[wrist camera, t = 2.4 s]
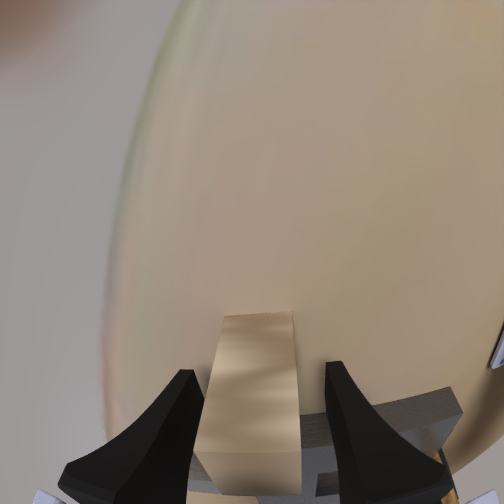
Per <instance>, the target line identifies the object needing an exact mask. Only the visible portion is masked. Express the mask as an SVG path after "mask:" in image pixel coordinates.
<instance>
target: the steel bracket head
mask: <svg viewBox="0 0 504 504" xmlns="http://www.w3.org/2000/svg"><path fill="white" fill-rule="evenodd" d="M372 407H373V408H374V409H375V410H376V412H377V413H378V414H379V415H380V416H381V417H382V418H383V419H384V420H385V421H386V422H387V423H388V424H389V425H390V426H391V427H392V428H393V429H394V430H395V431H396V432H397V433H398V434H399V435H401V436H402V437H403V438H404V439H406V440H407V441H408V442H409V443H411V444H412V445H413V446H414V447H416V448H417V449H419V450H420V451H422V452H423V453H425V454H426V455H428V456H429V457H431V458H434V457H435V456H436V454H437V453H438V451H439V450H440V449H441V447H442V446H443V444H444V443H445V441H446V440H447V438H448V437H449V435H450V434H451V432H452V431H453V429H454V427H455V426H456V424H457V423H458V421H459V419H460V418H461V416H462V414H463V411H462V409H461V407H460V405H459V403H458V401H457V399H456V397H455V395H454V393H453V391H452V389H451V388H450V387H447V388H444V389H440V390H437V391H433V392H430V393H426V394H422V395H419V396H415V397H411V398H407V399H403V400H398V401H394V402H389V403H384V404H379V405H374V406H372ZM299 418H300V436H301V473H302V494H301V495H284V496H256V497H257V500H258V502H259V504H340V497H339V481H338V469H337V460H336V454H335V450H334V445H333V440H332V436H331V431H330V427H329V422H328V417H327V413H322V414H313V415H303V416H299ZM187 489H188V490H189V491H194V492H203V493H214V494H221V492H220V491H219V489H218V488H217V487H216V485H215V484H214V482H213V481H212V479H211V478H210V476H209V475H208V473H207V472H206V470H205V469H204V467H203V466H202V464H201V462H200V461H199V459H198V458H197V456H196V454H193V455H192V459H191V464H190V470H189V477H188V485H187Z"/></svg>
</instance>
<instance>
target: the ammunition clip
mask: <svg viewBox="0 0 504 504" xmlns="http://www.w3.org/2000/svg"><path fill="white" fill-rule="evenodd" d="M433 459H434V460H436V461H438V462H440V463H441V464H443V465H445V466H446V468H447V469H448V471H449V473H450V475H451V472H450V469H449V466H448V464H447V461H446V458H445V456H444V453H443V451H442V448H441V449H440V450H439V451H438V453H437V454H436V456H435V457H434V458H433ZM451 477H452V475H451ZM452 480H453V479H452ZM453 483H454V482H453ZM441 501H442V504H459V502H458V495H457V491H456V488H455V485H454V487H453V489H452V490H451V491H450V492H449V493H448V494H447V495H446V496H445V497H443V498H442V499H441Z"/></svg>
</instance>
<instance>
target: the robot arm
mask: <svg viewBox="0 0 504 504" xmlns="http://www.w3.org/2000/svg"><path fill="white" fill-rule="evenodd" d="M503 365H504V330H503V333H502V336H501V338H500V341H499V343H498V346H497V348H496V351H495V353H494V355H493V358H492V360H491V363H490V366H491V367H492V369H495V368H498V367H500V366H503ZM325 402H326V412H327V417H328V422H329V427H330V431H331V436H332V440H333V445H334V450H335V454H336V460H337V469H338V481H339V497H340V504H442V501H441V499H442V498H443V497H445V496H446V495H447V494H448V493H449V492H450V491H451V490H452V489H453V487H454V483H453V480H452V477H451V475H450V473H449V471H448V469H447V468H446V466H445V465H443V464H441V463H440V462H438V461H436V460H434V459H433V458H431V457H429V456H428V455H426V454H425V453H423V452H422V451H420V450H419V449H417V448H416V447H414V446H413V445H412V444H411V443H409V442H408V441H407V440H406V439H404V438H403V437H402V436H401V435H399V434H398V433H397V432H396V431H395V430H394V429H393V428H392V427H391V426H390V425H389V424H388V423H387V422H386V421H385V420H384V419H383V418H382V417H381V416H380V415H379V414H378V413H377V412H376V410H375V409H374V408H373V407H372V406H371V404H370V403H369V402H368V401H367V399H366V398H365V397H364V395H363V394H362V393H361V391H360V390H359V388H358V387H357V385H356V384H355V382H354V381H353V379H352V378H351V376H350V375H349V373H348V371H347V369H346V368H345V366H344V364H343V362H342V361H334V362H326V373H325ZM203 406H204V397H203V394H202V392H201V389H200V386H199V384H198V381H197V378H196V375H195V373H194V370H185V369H180V370H179V371H178V373H177V374H176V375H175V376H174V378H173V379H172V380H171V381H170V383H169V384H168V385H167V386H166V388H165V389H164V390H163V391H162V392H161V394H160V395H159V396H158V397H157V398H156V399H155V401H154V402H153V403H152V404H151V405H150V406H149V407H148V408H147V409H146V411H145V412H144V413H143V414H142V415H141V416H140V417H139V418H138V419H137V420H136V421H135V422H134V423H132V424H131V425H130V426H129V427H128V428H127V429H126V430H124V431H123V432H122V433H121V434H119V435H118V436H117V437H115V438H114V439H112V440H111V441H110V442H108V443H107V444H105V445H104V446H102V447H100V448H99V449H97V450H95V451H93V452H91V453H90V454H88V455H86V456H84V457H81V458H79V459H77V460H75V461H72V462H70V463H67V465H66V467H65V469H64V471H63V473H62V475H61V477H60V480H59V482H58V487H59V488H60V489H61V490H62V491H63V492H64V493H66V494H67V495H68V496H70V497H71V498H73V499H74V500H75V501H77V502H78V503H80V504H186V496H187V485H188V477H189V470H190V464H191V459H192V455H193V452H194V451H193V449H194V445H195V441H196V436H197V432H198V428H199V423H200V419H201V415H202V410H203ZM32 504H66V503H65V502H63V501H61V500H60V499H58V498H57V497H55V496H53V495H51V494H49V493H47V492H45V491H43V490H41V489H38V491H37V494H36V496H35V498H34V500H33V502H32ZM466 504H499V501H498V498H497V495H496V492H495V489H492V490H490V491H488V492H486V493H484V494H482V495H481V496H479V497H477V498H475V499H473V500H471V501H469V502H467V503H466Z"/></svg>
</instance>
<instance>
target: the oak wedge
mask: <svg viewBox="0 0 504 504" xmlns="http://www.w3.org/2000/svg"><path fill="white" fill-rule="evenodd" d="M193 451H194V453H195V454H196V456H197V458H198V459H199V461H200V462H201V464H202V466H203V467H204V469H205V470H206V472H207V473H208V475H209V476H210V478H211V479H212V481H213V482H214V484H215V485H216V487H217V488H218V489H219V491H220V492H221V494H222V495H234V496H284V495H301V494H302V473H301V436H300V418H299V401H298V386H297V372H296V358H295V345H294V333H293V322H292V311H286V312H275V313H262V314H249V315H234V316H225V318H224V323H223V327H222V331H221V335H220V339H219V343H218V347H217V351H216V356H215V360H214V364H213V368H212V372H211V377H210V381H209V385H208V389H207V393H206V398H205V402H204V406H203V410H202V415H201V419H200V423H199V428H198V432H197V436H196V441H195V445H194V449H193Z"/></svg>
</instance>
